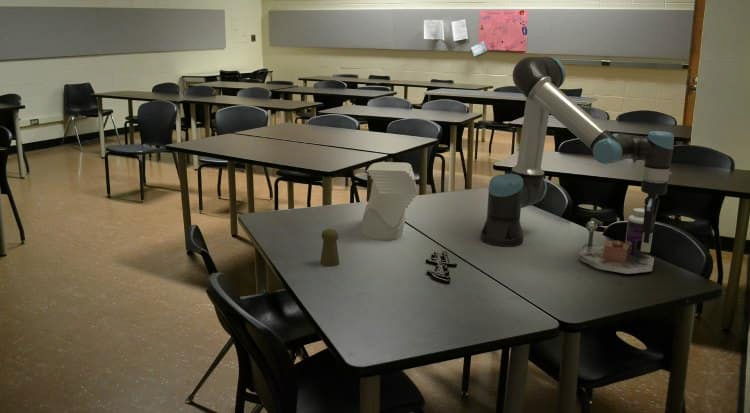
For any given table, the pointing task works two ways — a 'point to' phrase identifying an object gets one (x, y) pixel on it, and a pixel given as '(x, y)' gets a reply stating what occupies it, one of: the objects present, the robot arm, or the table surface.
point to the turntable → (632, 265)
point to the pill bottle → (635, 226)
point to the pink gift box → (617, 250)
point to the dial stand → (592, 230)
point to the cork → (329, 248)
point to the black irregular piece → (440, 267)
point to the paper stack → (388, 200)
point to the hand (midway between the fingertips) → (645, 251)
